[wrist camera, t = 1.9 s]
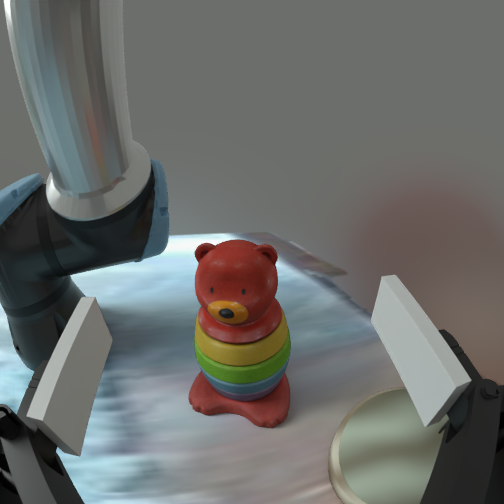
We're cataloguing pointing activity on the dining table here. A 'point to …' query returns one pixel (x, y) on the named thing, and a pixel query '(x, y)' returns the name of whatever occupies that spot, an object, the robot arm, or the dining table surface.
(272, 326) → the stacking bear
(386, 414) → the stand
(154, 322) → the dining table surface
